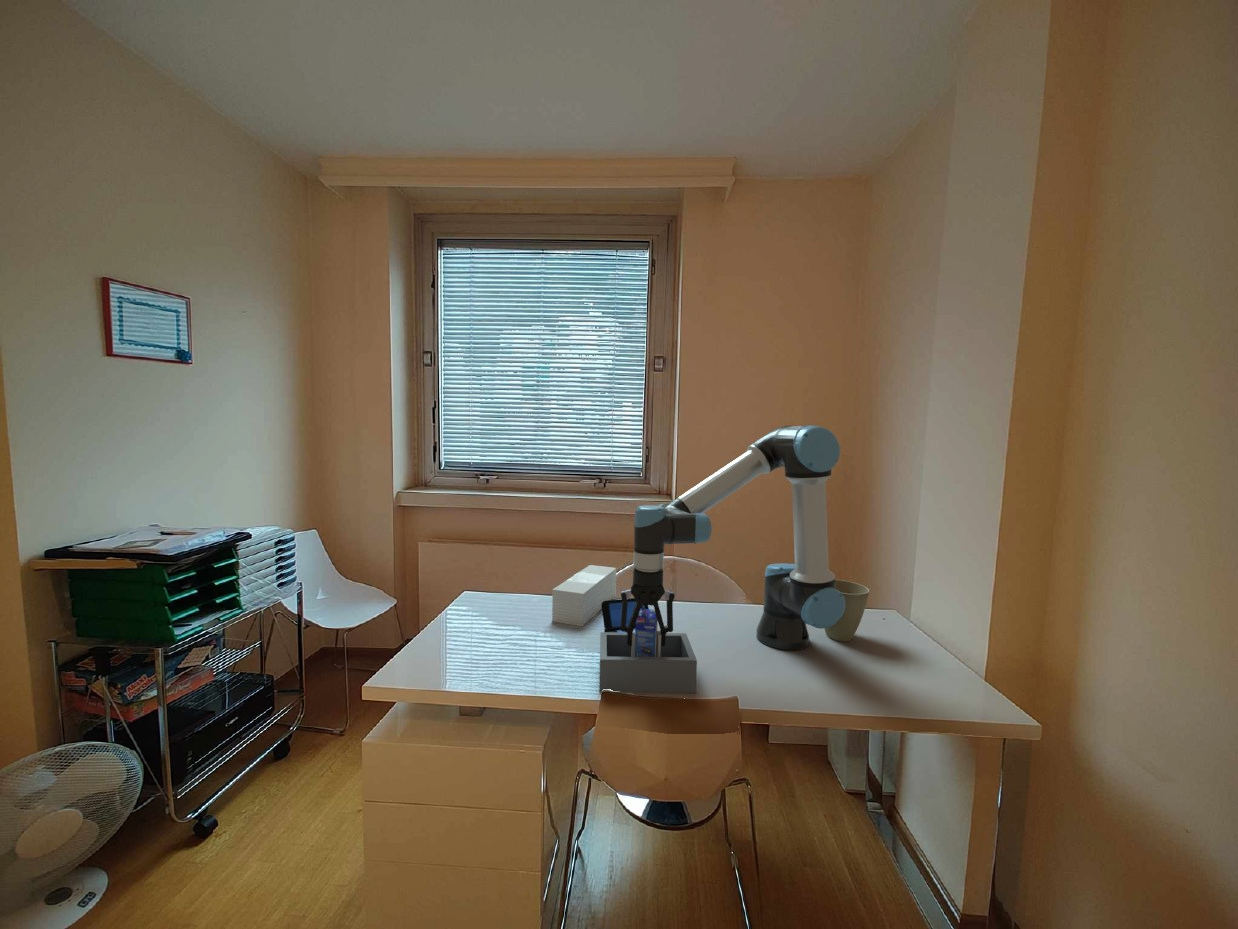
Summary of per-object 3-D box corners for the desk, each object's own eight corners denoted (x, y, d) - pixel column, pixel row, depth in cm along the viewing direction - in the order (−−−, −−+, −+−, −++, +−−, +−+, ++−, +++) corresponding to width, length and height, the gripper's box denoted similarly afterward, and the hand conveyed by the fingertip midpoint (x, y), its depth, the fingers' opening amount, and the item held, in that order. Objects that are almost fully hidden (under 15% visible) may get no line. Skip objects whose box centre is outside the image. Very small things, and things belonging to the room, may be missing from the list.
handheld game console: (614, 647, 146) (615, 616, 145) (599, 630, 159) (600, 601, 158) (663, 641, 152) (664, 610, 151) (645, 624, 164) (646, 596, 163)
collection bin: (685, 662, 137) (686, 633, 137) (695, 693, 121) (696, 660, 121) (599, 661, 137) (600, 632, 136) (599, 692, 121) (600, 659, 120)
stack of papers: (582, 627, 160) (583, 593, 160) (552, 622, 164) (552, 589, 163) (615, 596, 191) (616, 567, 190) (589, 592, 194) (589, 564, 193)
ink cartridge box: (635, 652, 134) (638, 599, 133) (656, 654, 133) (659, 600, 132) (632, 670, 124) (635, 612, 123) (655, 672, 124) (658, 614, 123)
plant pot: (860, 651, 147) (863, 597, 146) (807, 637, 156) (810, 586, 155) (870, 635, 159) (874, 585, 158) (821, 623, 168) (824, 576, 167)
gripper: (683, 564, 131) (680, 651, 133) (610, 563, 130) (608, 650, 132) (688, 572, 124) (684, 665, 125) (610, 571, 123) (608, 664, 125)
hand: (645, 657), depth 129 cm, fingers closed on ink cartridge box, 6 cm apart
